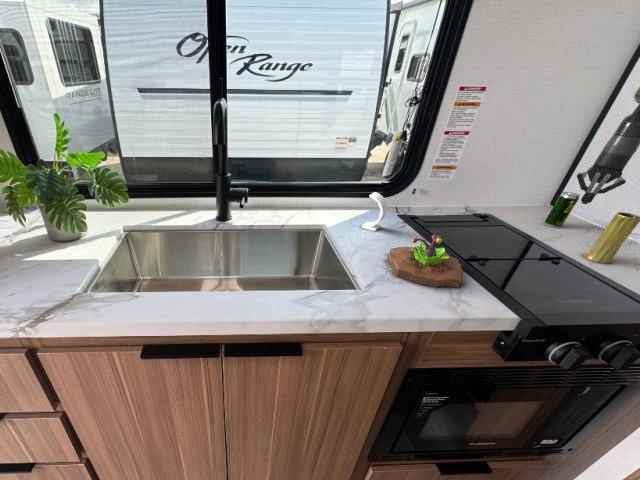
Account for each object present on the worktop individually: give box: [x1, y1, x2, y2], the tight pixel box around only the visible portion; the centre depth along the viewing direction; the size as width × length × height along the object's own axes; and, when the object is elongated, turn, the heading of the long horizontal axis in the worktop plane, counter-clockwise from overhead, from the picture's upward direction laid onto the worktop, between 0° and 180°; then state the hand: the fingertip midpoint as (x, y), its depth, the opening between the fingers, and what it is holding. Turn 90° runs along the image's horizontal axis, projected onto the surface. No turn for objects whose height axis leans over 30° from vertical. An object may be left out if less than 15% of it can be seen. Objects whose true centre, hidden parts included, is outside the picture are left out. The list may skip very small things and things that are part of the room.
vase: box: [584, 211, 640, 264], centre depth 97 cm, size 6×6×14 cm
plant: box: [386, 233, 463, 288], centre depth 91 cm, size 20×20×11 cm
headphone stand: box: [361, 191, 388, 232], centre depth 116 cm, size 5×6×12 cm
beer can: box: [544, 191, 581, 229], centre depth 120 cm, size 5×5×12 cm
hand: (584, 203), depth 115 cm, fingers closed
